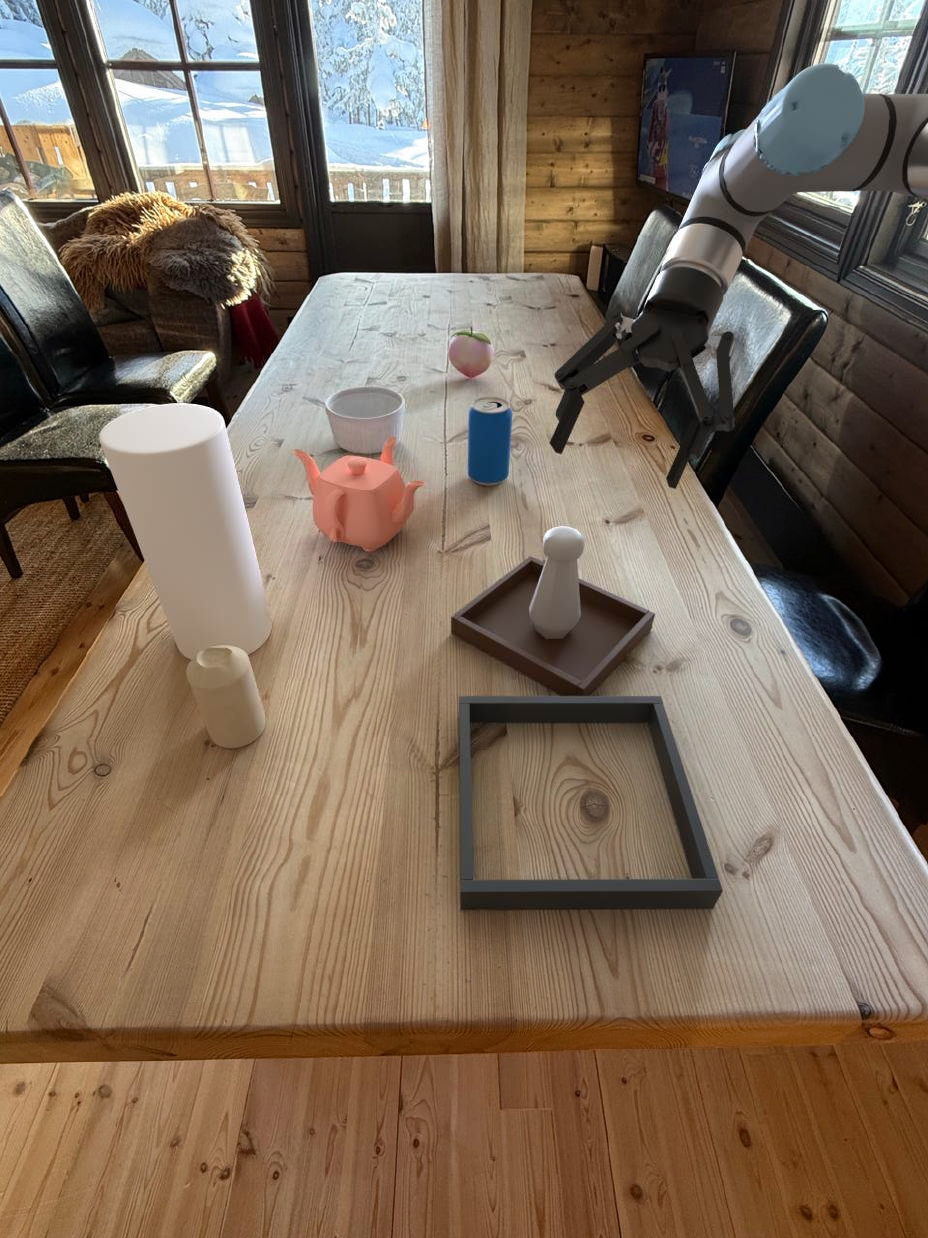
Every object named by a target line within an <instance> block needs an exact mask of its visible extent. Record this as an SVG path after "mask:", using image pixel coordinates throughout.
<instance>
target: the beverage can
mask: <svg viewBox="0 0 928 1238" xmlns="http://www.w3.org/2000/svg"><path fill="white" fill-rule="evenodd" d="M467 423H468V424H467V425H468V427H467V430H468V431H467V476H468V477H469V479H470V480H472V481H473V482H475V483H476V484H478V485H481V486H497V485H499V484H501V483H503V482H504V481H505V480H507V479H508V478H509V475H510V462H511V461H510V460H511V458H510V457H511V443H512V441H511V440H512V427H513V426H512V425H513V411H512V408H511V403H510V402H509V401H508V400H507V399H504V398H503V397H499V396H483V397H478V398H476V399H474V400H473V401H472V402H471V407H470V408H469V410H468V421H467Z"/></svg>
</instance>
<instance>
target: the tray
mask: <svg viewBox="0 0 928 1238" xmlns="http://www.w3.org/2000/svg"><path fill="white" fill-rule="evenodd" d="M545 562H546V561H543V560H541V559H538V558H536V557H534V556H531V555H529V556H528V557H526V558H525V559H524V560H523V561H522V560H521V562H520V563H518V564H517V565H516V566H515V567H513V568H512V569H511V570H509V571H508V572H507V573H506V574H504V575H503V576H502V577H500V578H499V579H498V580H497V581H495V582H494V583H492V584H491V585H489V587H487V588H486V589H484V590H483V591H482V592H481V593H479V594H478V595H477V596H476V597H475V598H473V599H472V600H470V601H469V602H468V603H467V604H465V605H464V606H462V607H461V608H460V609H459V610H458V611H456V612H455V613H454V614H452V615H451V616H450V634H451V635H453V636H455V637H457V638H458V639H459V640H462V641H463V642H465V643H467V644H469V645H470V646H473V647H474V648H476V649H478V650H479V651H481V652H483V653H485V654H487V655H488V656H490V657H491V658H493V659H495V660H497V661H498V662H501V663H502V664H504V665H506V666H507V667H509V668H511V669H513V670H515V671H517V672H518V673H520V674H522V676H523V675H524V676H525V677H527V678H529V679H531V680H532V681H534V682H536V683H537V684H539V685H541V686H542V687H545V688H546V689H548V690H550V691H552V692H554V693H556V694H557V695H558V696H593V694H594V693H595V692H596V691H597V690H598V689H599V687H601V685H603V683H604V682H605V681H606V680H607V679H608V678H609V677H610V676H611V675H612V674H613V672H614V671H616V669H617V668H618V667H619V666H620V665H621V664H622V663H623V661H624V660H626V658H627V657H628V656H629V655H630V654H631V653H632V652H633V651H634V650H635V648H636V647H637V646H638V645H639V644H640V643H641V642H642V641H643V640H644V638H645V637H646V636H647V635H649V633H650V632H651V631H652V628H653V624H654V621H655V616H656V613H655V612H654V611H651V610H649V609H647V608H645V607H643V606H641V605H638V604H636V603H635V602H632V601H630V600H628V599H626V598H623V597H621V596H619V595H617V594H615V593H612V592H610V591H608V590H606V589H604V588H602V587H599V586H597V585H595V584H594V583H591V582H588V581H586V580H584V579H582V578H580V577H578V580H579V595H580V611H581V616H580V618H579V620H578V622H577V624H576V626H575V627H574V628H573V629H572V630H571V631H570V632H569V633H568V634H567V635H566V636H565V637H564V638H563V639H546V638H545V637H543V636H542V635H541V634H539V633H538V632H537V631H535V629H534V626H533V624H532V621H531V619H530V612H529V607H530V604H531V601H532V598H533V596H534V593H535V590H536V587H537V584H538V581H539V579H540V576H541V573H542V570H543V567H544V565H545Z"/></svg>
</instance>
